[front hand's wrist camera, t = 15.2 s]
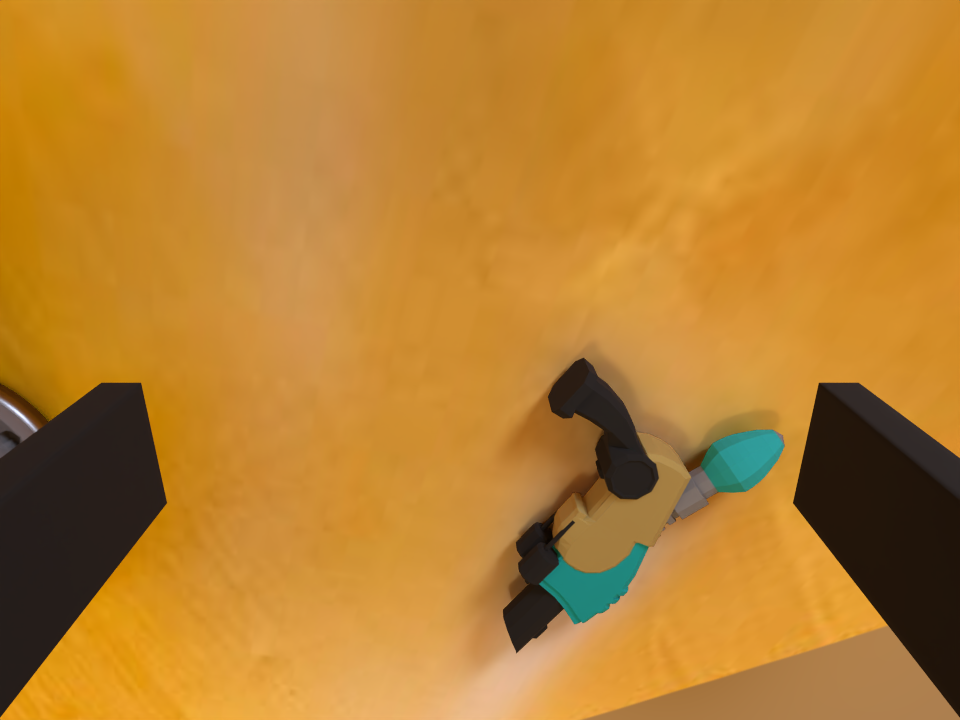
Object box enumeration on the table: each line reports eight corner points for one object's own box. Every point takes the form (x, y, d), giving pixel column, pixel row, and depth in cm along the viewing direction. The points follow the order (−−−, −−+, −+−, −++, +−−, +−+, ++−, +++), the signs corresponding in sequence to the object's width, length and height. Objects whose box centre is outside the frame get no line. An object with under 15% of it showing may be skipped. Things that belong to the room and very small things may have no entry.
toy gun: (389, 595, 46) (549, 691, 49) (641, 324, 38) (808, 460, 42) (396, 555, 50) (543, 646, 53) (625, 303, 42) (778, 428, 46)
